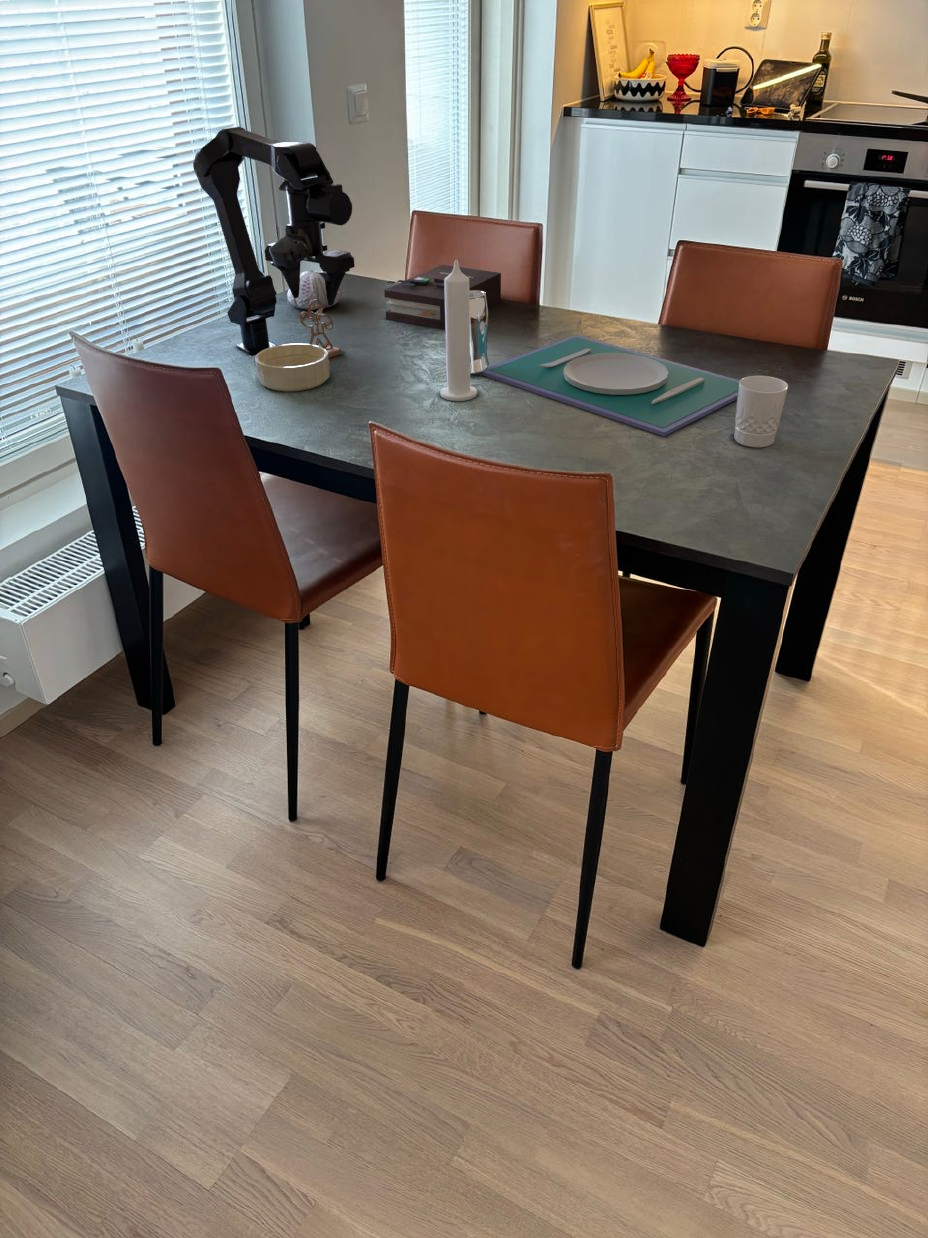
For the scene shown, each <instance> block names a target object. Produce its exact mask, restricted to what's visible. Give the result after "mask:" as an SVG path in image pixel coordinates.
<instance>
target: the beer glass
mask: <svg viewBox="0 0 928 1238" xmlns="http://www.w3.org/2000/svg"><path fill="white" fill-rule="evenodd" d="M469 305H470V375H481V373H484V372H486V371H488V370H489V369H490V362H489V358H488V352H487V347H488V334H489V309H488V308H487V301H486V293H485V292H484V291H477V290H473V291H469Z"/></svg>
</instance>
